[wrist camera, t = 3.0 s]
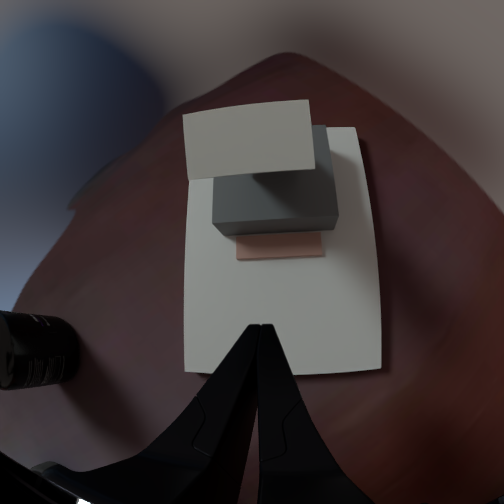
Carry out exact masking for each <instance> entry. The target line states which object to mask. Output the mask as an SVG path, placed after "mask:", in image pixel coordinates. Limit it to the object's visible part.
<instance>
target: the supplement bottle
mask: <svg viewBox="0 0 504 504" xmlns="http://www.w3.org/2000/svg"><path fill="white" fill-rule="evenodd" d="M78 365H79V347H78V343H77V339H76V336H75V334H74V332H73V330H72V329H71V327H70V326H69V325H68V324H67V323H66V322H65V321H64V320H63V319H61V318H59V317H54V316H46V315H35V314H26V313H17V312H9V311H1V310H0V390H17V389H25V388H33V387H40V386H47V385H53V384H59V383H64V382H67V381H69V380H71V379H72V378H73V377H74V375H75V374H76V371H77V369H78Z"/></svg>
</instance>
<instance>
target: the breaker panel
mask: <svg viewBox="0 0 504 504" xmlns="http://www.w3.org/2000/svg"><path fill="white" fill-rule="evenodd" d="M311 127H312V137H313V148H314V159H315V169H312V170H295V171H280V172H266V173H254V174H243V175H233V176H223V177H214V178H206V179H195V180H190V181H189V194H188V208H187V225H186V246H185V276H184V358H185V371H186V372H199V373H213V372H214V371H215V369H216V368H217V367H218V365H219V364H220V363H221V361H222V360H223V359H224V357H225V356H226V355H227V353H228V352H229V351H230V349H231V348H232V346H233V345H234V344H235V342H236V341H237V340H238V338H239V337H240V335H241V334H242V333H243V331H244V330H245V329H246V327H247V326H248V325H249V324H260V325H262V324H273V325H274V327H275V330H276V332H277V335H278V338H279V340H280V343H281V345H282V348H283V350H284V353H285V355H286V358H287V361H288V363H289V366H290V368H291V371H292V373H293V375H304V374H325V373H340V372H352V371H362V370H372V369H380V368H381V307H380V289H379V275H378V263H377V253H376V244H375V235H374V227H373V220H372V213H371V206H370V200H369V193H368V188H367V182H366V177H365V171H364V166H363V161H362V156H361V152H360V147H359V143H358V138H357V134H356V130H355V127H335V128H326V125H311Z"/></svg>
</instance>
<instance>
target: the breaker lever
mask: <svg viewBox="0 0 504 504" xmlns="http://www.w3.org/2000/svg"><path fill="white" fill-rule="evenodd" d="M183 125H184V138H185V150H186V161H187V172H188V180H195V179H206V178H214V177H223V176H233V175H243V174H254V173H266V172H280V171H295V170H312V169H315V159H314V148H313V137H312V127H311V118H310V109H309V101H308V100H294V101H279V102H268V103H257V104H249V105H240V106H233V107H226V108H219V109H213V110H207V111H201V112H195V113H190V114H185V115H183Z"/></svg>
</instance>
